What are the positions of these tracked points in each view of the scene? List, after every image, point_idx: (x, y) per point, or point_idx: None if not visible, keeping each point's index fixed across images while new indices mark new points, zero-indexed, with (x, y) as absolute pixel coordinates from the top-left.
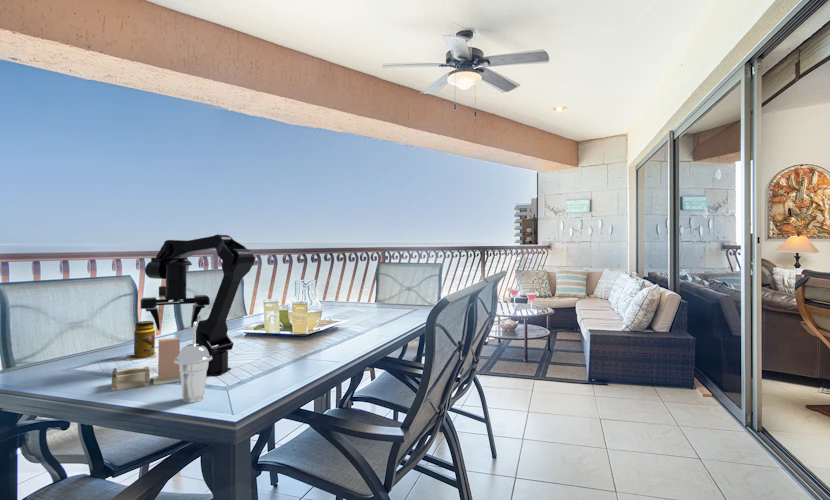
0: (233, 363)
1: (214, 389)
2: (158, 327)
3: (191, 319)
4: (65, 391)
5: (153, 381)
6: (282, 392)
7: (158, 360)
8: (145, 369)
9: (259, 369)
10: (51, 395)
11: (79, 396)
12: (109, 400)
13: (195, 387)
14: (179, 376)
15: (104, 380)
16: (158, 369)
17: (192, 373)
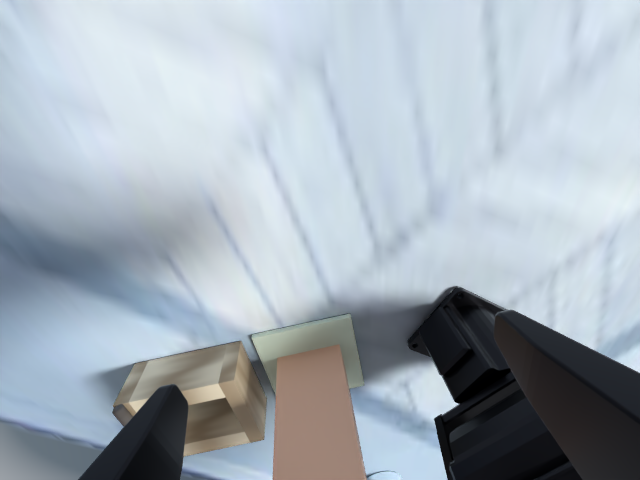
0: (555, 224)
1: (429, 446)
2: (174, 449)
3: (574, 385)
4: (18, 396)
5: (270, 382)
6: None
7: (275, 422)
8: (236, 409)
9: (594, 330)
10: (4, 417)
11: (103, 435)
12: (204, 464)
13: None
14: (344, 358)
15: (74, 321)
16: (277, 389)
17: None
